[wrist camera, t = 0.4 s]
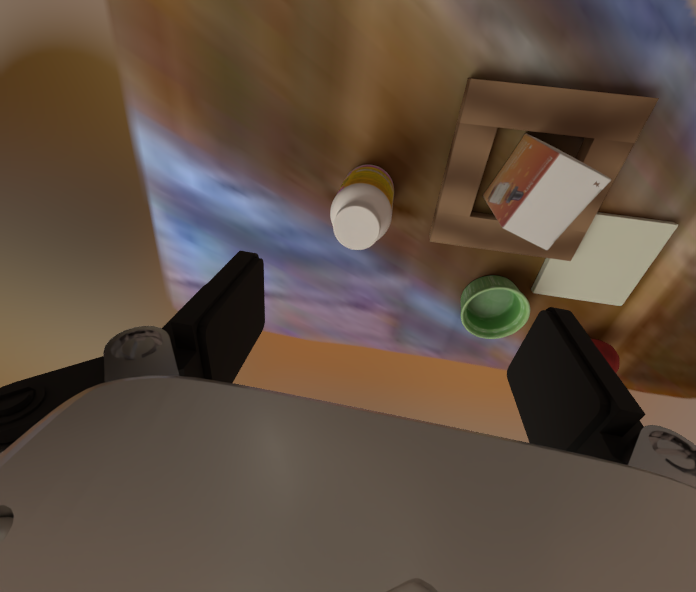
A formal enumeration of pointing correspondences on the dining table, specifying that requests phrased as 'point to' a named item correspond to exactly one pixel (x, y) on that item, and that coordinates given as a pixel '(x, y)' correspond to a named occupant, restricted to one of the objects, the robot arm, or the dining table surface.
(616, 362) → the onion
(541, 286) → the cream square tile
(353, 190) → the supplement bottle
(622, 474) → the robot arm
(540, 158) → the small box
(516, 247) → the holder block
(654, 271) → the dining table surface
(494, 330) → the ramekin
